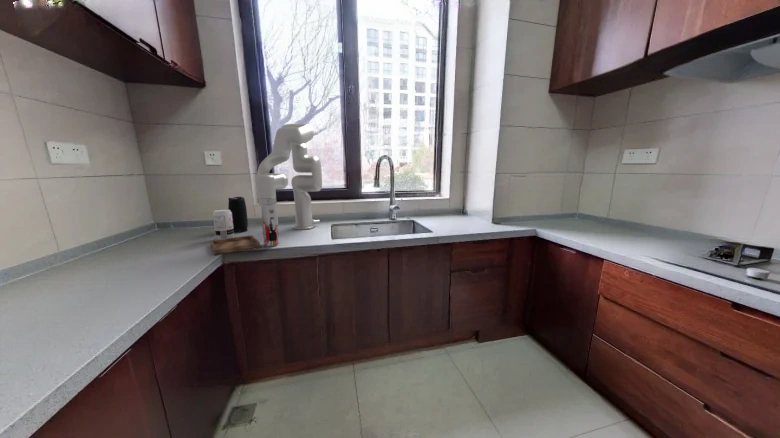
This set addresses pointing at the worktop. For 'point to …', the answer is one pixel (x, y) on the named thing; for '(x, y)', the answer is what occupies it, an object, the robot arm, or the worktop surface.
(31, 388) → the worktop surface
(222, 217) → the supplement can
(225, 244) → the tray
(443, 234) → the worktop surface
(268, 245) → the soda can
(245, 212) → the portable speaker
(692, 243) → the worktop surface
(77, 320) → the worktop surface
